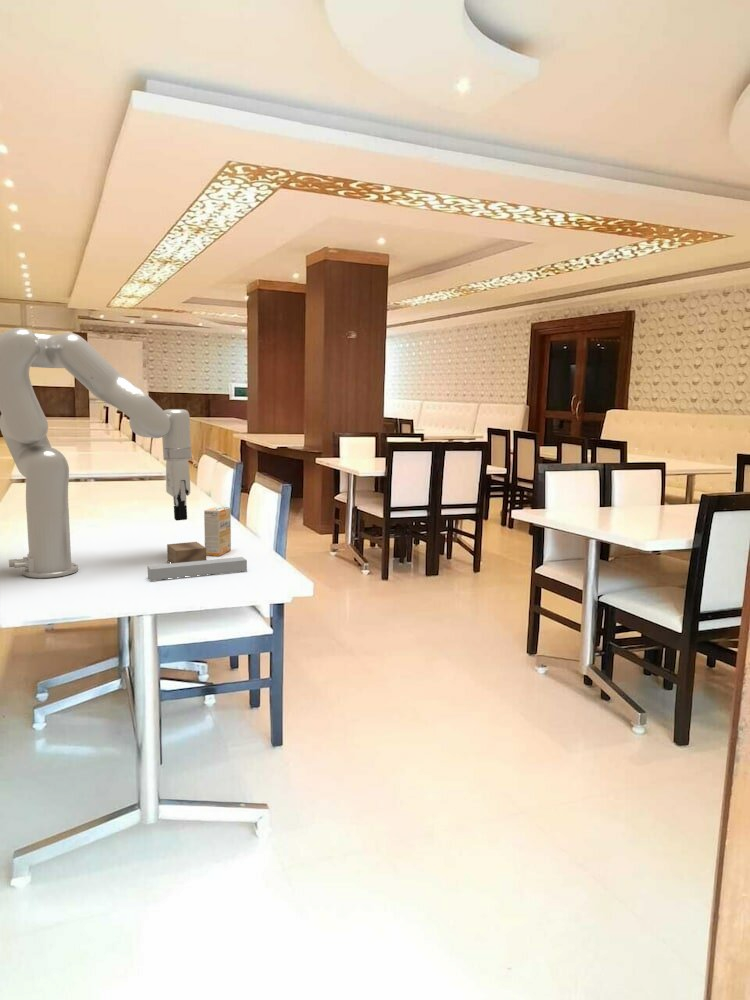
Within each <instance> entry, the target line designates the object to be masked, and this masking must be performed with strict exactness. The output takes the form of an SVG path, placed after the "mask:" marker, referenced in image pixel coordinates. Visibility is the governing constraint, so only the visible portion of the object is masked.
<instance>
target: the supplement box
mask: <svg viewBox="0 0 750 1000" xmlns="http://www.w3.org/2000/svg"><path fill="white" fill-rule="evenodd" d="M231 510H232V508H231V507H230V506H214V507H212V508H209V509H204V510H203V514H204V515H203V518H204V547H205V548H206V556H209V555H213V557H220V556H222V555H224V554H226V553H227V552H229V551H231V550H232V543H231V542H232V540H231V539H232V529H231V528H232V527H231V525H232V524H231V522H232V521H231V520H232V519H231V517H232V516H231V515H232V513H231Z"/></svg>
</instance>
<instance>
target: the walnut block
mask: <svg viewBox="0 0 750 1000" xmlns="http://www.w3.org/2000/svg"><path fill="white" fill-rule="evenodd" d="M166 548H167V549H166V550H167V551H166V552H167V553H166V554H167V562H168V561H169V562H171V563H182V562H193V561H203V560H207V555H206V548H205V545H202V544H200V543H199V542H198V541H191V542H179V543H167V545H166ZM169 562H168V563H169Z"/></svg>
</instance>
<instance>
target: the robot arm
mask: <svg viewBox="0 0 750 1000" xmlns="http://www.w3.org/2000/svg"><path fill="white" fill-rule="evenodd" d="M30 368H42V369H65V370H66V371H67V372H69V373H70V375H72V376H73V377H74V378H75V379H76V380H77V381H78V382H80V383H81V385H82V386H84V388H86V390H88V391H89V392H90V393H91V394H92V395H94V396H95V397H96V398H97V399H98V400H100V401H102V402H104V403H105V404H108V405H111V406H112V407H114V408H116V409H118V410H119V411H120V412H122V413H123V414H125V416H127V417H128V418H129V428H130V430H131V431H132V432H133V433H134V434H135V435H137V436H139V437H143V438H151V439H160V438H161V439H162V455H163V457H162V458H163V459H162V460H163V461H165V462H166V463H165V488H166V489H165V490H166V491H165V492H166V493H167V494H168V495H169V496H171V497H172V499H173V514H174V515H173V517H174V520H175V521H186V520H188V511H187V510H188V508H187V507H188V506H187V496H188V497H189V495H190V494H191V477H190V464H189V461H191V460H192V459H193V458H192V440H191V436H192V435H191V421H190V419H191V418H190V412H189V411H188V410H187V409H182V408H181V409H180V408H175V409H174V408H171V409H162V407H161V406H159V405H158V403H156V402H155V400H153V399H152V397H150V396H149V394H147V393H146V392H145V391H143V390H142V389H141V388H139V387H138V386H137V385H135V384H134V383H133V382H131V380H129V379H128V378H127V377H125V376H124V375H123V374H121V372H119V371H118V370H117V369H116V368H115V367H114V366H113V365H111V364H110V362H108V360H106V359H105V358H104V357H103V356H102V354H100V353H99V352H98V351H97V350H96V349H95V348H94V347H93V346H92V345H91V344H90V343H89V342H88V341H87V340H86V339H85V338H83V337H82V336H80V335H79V334H76V333H74V332H64V333H61V334H46V333H45V334H44V333H35V332H33V331H31V330H30V329H27V328H24V327H14V328H10V329H8V330H6V331H4V332H3V331H2V333H1V334H0V413H1V414H0V431H1V435H2V437H3V439H4V442H5V444H6V446H7V449H8V451H9V453H10V455H11V457H12V460H13V462H14V464H15V467H16V468H17V470H18V471H19V473H20V474H21V475H22V476H23V477H24V478H25V507H26V508H25V510H26V512H25V513H26V522H27V523H26V525H27V526H26V527H27V543H28V554H26V556H23V558H21V559H20V558H18V559H17V558H14V559H13V558H11V559H8V565H9V566H8V567H9V568H14V569H18V568H23V570H22V575H23V576H25V577H27V578H34V579H35V578H37V579H38V578H39V579H50V578H57V577H65V576H67V575H68V576H69V575H72V574H74V573H76V572H78V570H79V565H78V564H77V563H74V562H72V551H71V550H72V549H71V548H72V547H71V531H70V527H71V526H70V511H69V508H70V507H69V481H70V480H69V479H70V467H69V463H68V460H67V458H66V457H65V455H64V454H63V453H62V452H61V451H59V450H58V449H56V448H55V447H54V448H53V447H52V446H51V443H50V441H49V439H48V436H47V433H48V431H49V422H48V419H47V417H46V415H45V413H44V410H43V409H42V406H41V405H40V404H41V403H40V402H39V400H38V398H37V396H36V393H35V391H34V387H33V385H32V382H31V378H30V377H31V376H30ZM69 373H68V374H69Z"/></svg>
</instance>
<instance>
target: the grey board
mask: <svg viewBox="0 0 750 1000" xmlns="http://www.w3.org/2000/svg"><path fill="white" fill-rule="evenodd" d="M247 562H248V560H247V559H246V558H245V557H243V556H236V557H225V558H218V559H206V560H203V561H193V562H182V563H171V564H170V563H164V564H161V563H160V564H151V565H147V578H148V580H149V579H150V580H151V581H150V580H149V581H150V582H154V581H153V580H159V581H162V580H161V579H168V578H177V577H185V576H197V575H207V574H208V576H210V575H209V574H217V575H221V574H220V573H227V574H231V573H230V572H237V573H242V572H241V571H246V572H248V563H247Z"/></svg>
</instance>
